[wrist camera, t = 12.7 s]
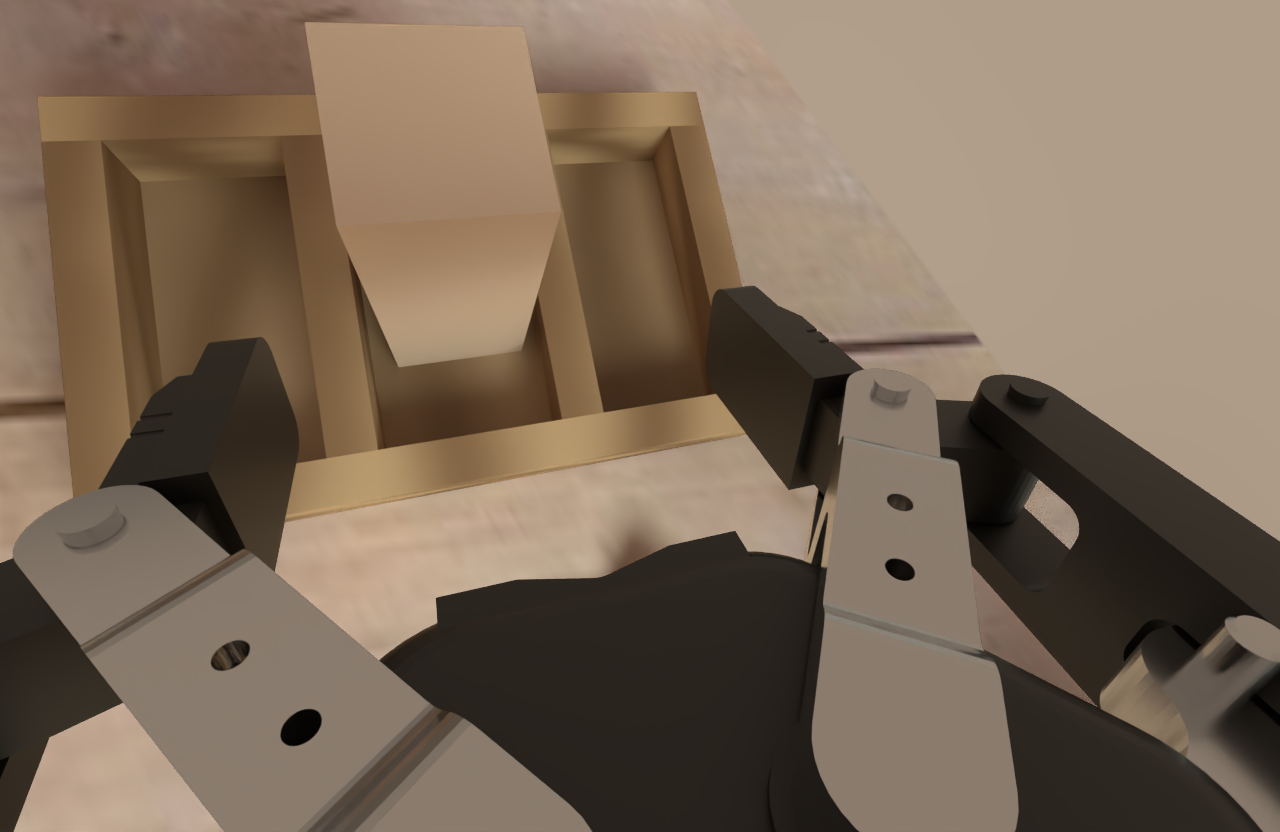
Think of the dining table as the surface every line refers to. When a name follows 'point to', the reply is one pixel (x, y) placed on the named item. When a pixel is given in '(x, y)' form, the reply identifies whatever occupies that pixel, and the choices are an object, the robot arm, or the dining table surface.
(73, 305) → the rack
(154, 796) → the dining table surface
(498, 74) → the block
